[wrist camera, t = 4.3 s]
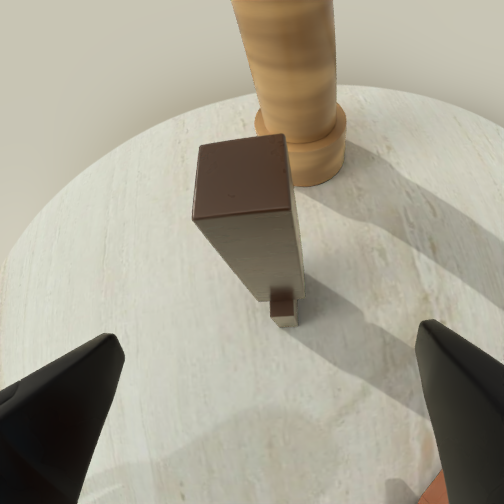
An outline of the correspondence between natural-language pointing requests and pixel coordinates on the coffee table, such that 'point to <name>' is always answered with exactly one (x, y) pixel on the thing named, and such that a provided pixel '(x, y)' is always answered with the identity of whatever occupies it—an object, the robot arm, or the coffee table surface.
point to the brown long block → (253, 218)
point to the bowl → (435, 492)
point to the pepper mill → (296, 81)
